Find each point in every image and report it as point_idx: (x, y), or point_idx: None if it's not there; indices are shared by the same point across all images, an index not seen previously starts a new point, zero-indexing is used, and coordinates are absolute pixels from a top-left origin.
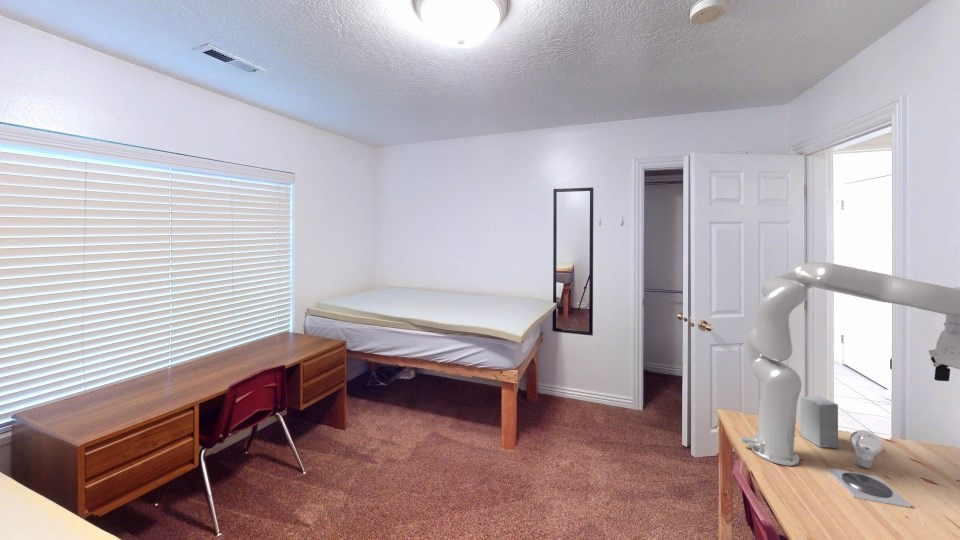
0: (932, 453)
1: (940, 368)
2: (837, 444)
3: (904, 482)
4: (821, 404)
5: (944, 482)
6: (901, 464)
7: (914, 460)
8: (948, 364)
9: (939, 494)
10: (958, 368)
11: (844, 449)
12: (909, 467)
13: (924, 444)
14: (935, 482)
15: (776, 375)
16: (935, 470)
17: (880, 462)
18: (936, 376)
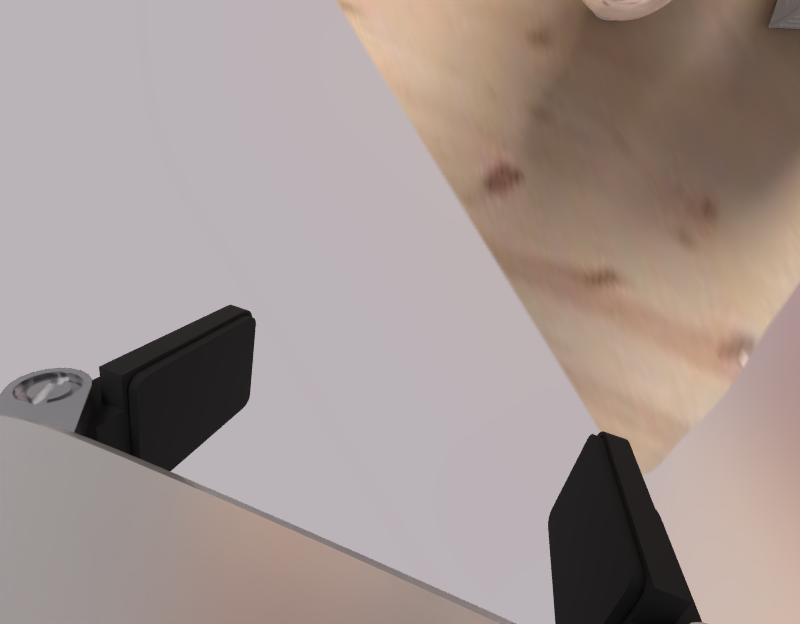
0: (623, 390)
1: (629, 616)
2: (778, 16)
3: (505, 74)
4: None
5: (489, 223)
6: (594, 197)
7: (604, 277)
8: (329, 576)
9: (441, 127)
10: (129, 459)
11: (747, 58)
12: (573, 205)
13: (674, 435)
14: (492, 192)
15: None
16: (544, 275)
17: (622, 124)
18: (613, 462)
